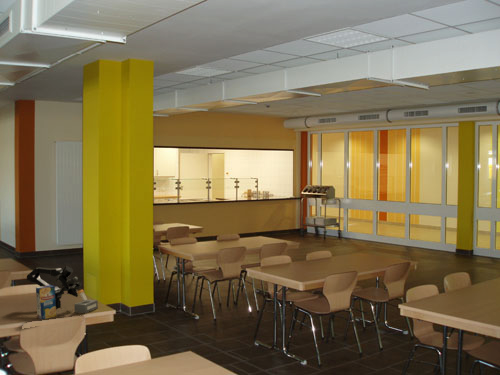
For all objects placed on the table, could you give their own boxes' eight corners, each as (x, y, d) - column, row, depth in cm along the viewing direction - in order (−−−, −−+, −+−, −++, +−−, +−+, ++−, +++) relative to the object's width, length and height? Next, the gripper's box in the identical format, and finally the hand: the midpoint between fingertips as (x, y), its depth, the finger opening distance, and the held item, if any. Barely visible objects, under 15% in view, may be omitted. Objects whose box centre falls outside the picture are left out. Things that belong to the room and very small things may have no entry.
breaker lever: (82, 301, 394) (77, 291, 395) (85, 300, 397) (80, 290, 398) (84, 300, 393) (79, 290, 394) (88, 299, 396) (83, 289, 397)
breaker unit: (74, 312, 390) (74, 303, 390) (87, 307, 403) (86, 299, 403) (85, 313, 386) (85, 304, 386) (97, 308, 399) (97, 300, 399)
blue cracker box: (37, 317, 379) (35, 287, 378) (52, 314, 386) (50, 284, 385) (41, 319, 374) (39, 289, 373) (56, 316, 381) (54, 286, 380)
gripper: (61, 276, 390) (74, 292, 386) (78, 271, 407) (91, 286, 404) (54, 286, 394) (66, 302, 390) (71, 281, 411) (83, 296, 407)
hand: (77, 296), depth 397 cm, fingers closed
